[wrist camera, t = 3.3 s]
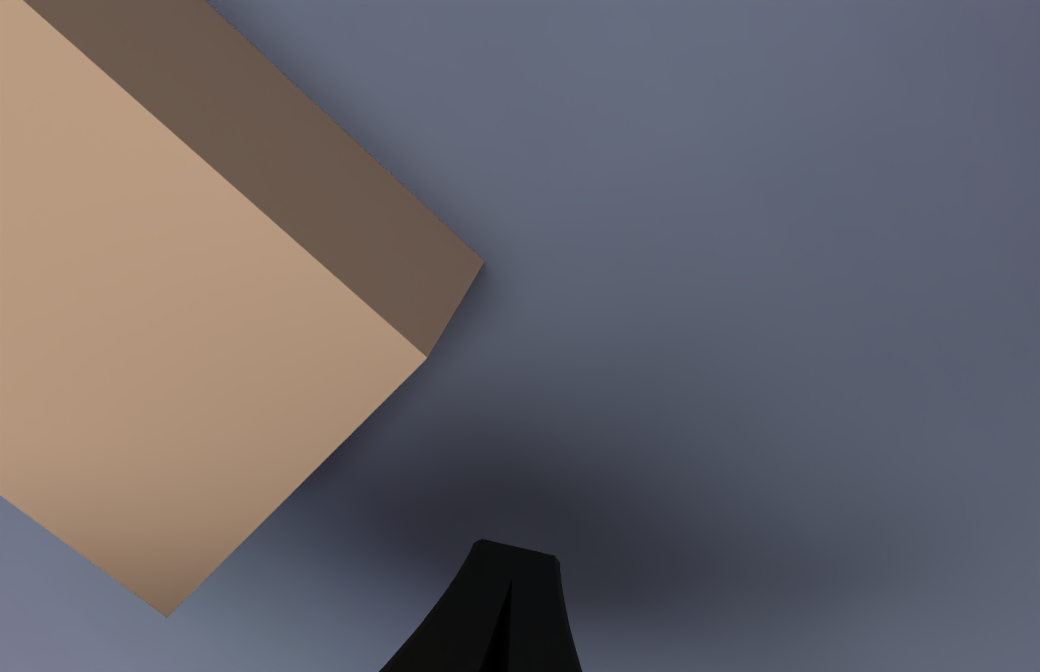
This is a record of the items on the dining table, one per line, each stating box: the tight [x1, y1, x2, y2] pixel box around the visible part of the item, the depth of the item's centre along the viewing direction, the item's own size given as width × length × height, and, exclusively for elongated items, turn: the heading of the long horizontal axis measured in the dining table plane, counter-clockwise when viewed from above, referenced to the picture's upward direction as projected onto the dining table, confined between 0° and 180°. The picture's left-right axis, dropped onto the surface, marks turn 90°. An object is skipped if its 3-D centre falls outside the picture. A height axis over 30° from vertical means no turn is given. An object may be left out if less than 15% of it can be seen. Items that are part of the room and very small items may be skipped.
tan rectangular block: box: [0, 0, 485, 617], centre depth 11 cm, size 7×6×4 cm
